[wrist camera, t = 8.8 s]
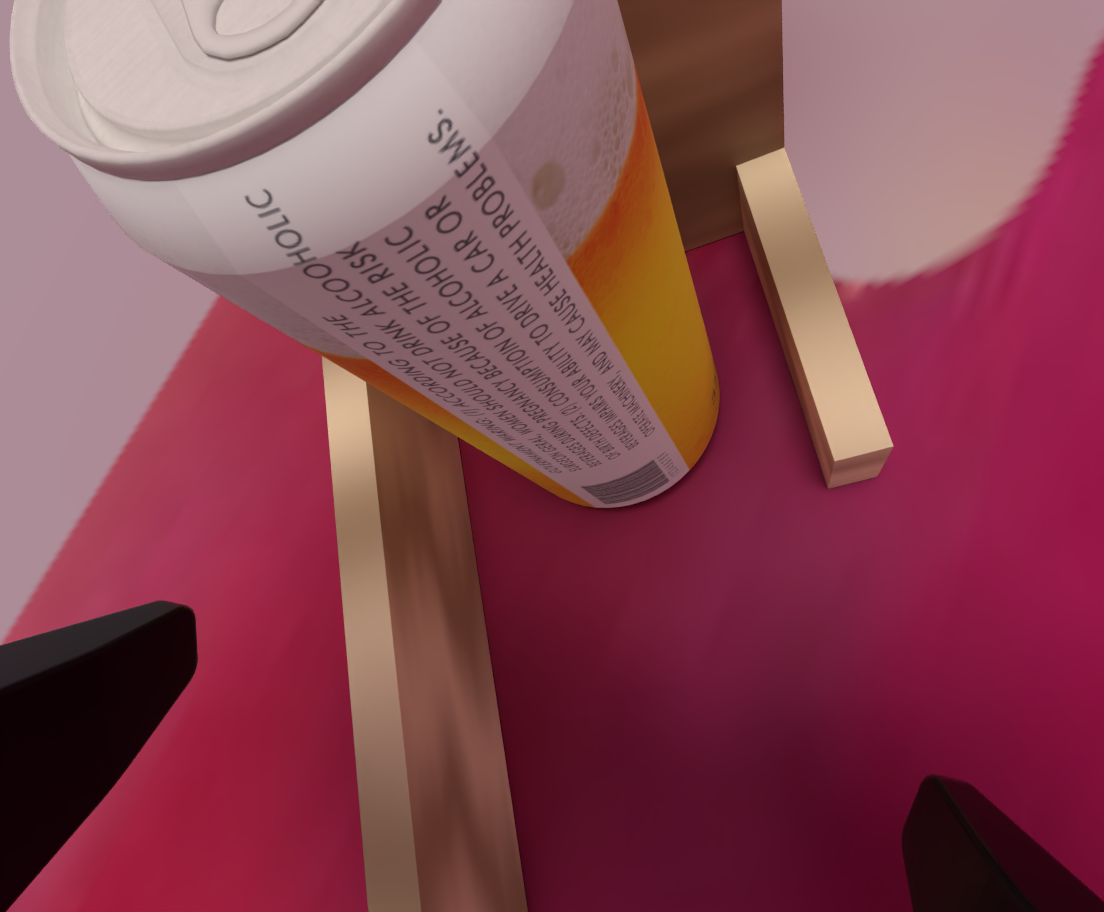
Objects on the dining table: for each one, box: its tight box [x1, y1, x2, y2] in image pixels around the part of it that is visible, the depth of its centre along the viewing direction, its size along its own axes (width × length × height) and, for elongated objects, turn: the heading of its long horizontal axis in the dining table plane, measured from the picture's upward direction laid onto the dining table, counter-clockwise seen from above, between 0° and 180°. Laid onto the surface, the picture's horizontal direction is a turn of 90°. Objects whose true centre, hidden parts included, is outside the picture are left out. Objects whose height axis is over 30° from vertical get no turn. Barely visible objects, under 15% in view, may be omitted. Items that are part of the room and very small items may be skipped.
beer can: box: [10, 0, 720, 508], centre depth 13 cm, size 6×6×15 cm
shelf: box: [322, 0, 893, 912], centre depth 15 cm, size 19×12×9 cm, turn 11°
